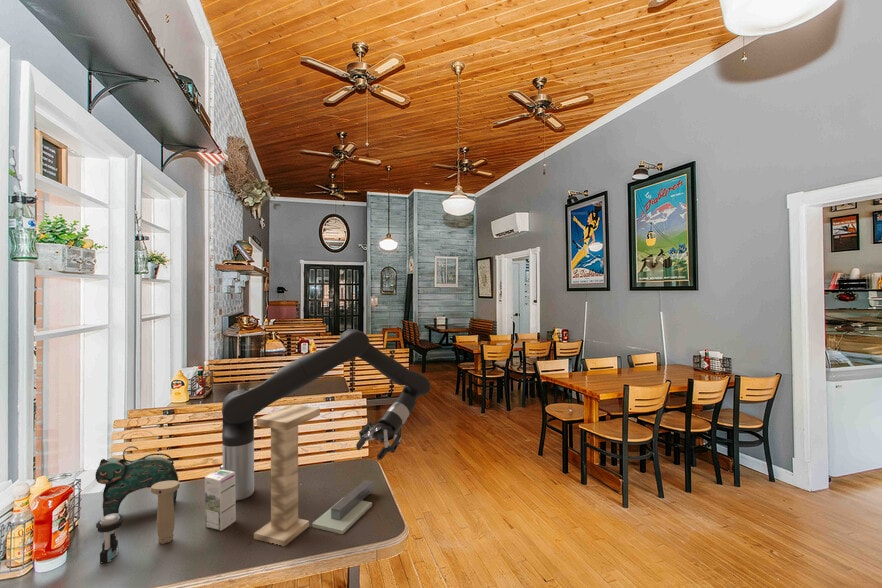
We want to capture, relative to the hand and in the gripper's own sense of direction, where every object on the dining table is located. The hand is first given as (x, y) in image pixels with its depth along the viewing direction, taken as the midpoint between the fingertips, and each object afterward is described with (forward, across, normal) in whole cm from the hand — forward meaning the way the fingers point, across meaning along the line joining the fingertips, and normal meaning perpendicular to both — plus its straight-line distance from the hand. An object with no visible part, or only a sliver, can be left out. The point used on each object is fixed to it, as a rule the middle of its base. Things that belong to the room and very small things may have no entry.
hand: (367, 453), depth 139 cm
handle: (+50, -28, -8) cm, 58 cm away
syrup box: (+39, -22, -3) cm, 45 cm away
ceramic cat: (+47, -50, -1) cm, 69 cm away
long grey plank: (+15, +5, +3) cm, 16 cm away
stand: (+31, -4, -3) cm, 32 cm away
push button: (+59, -34, -12) cm, 69 cm away
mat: (+20, +6, +1) cm, 21 cm away
